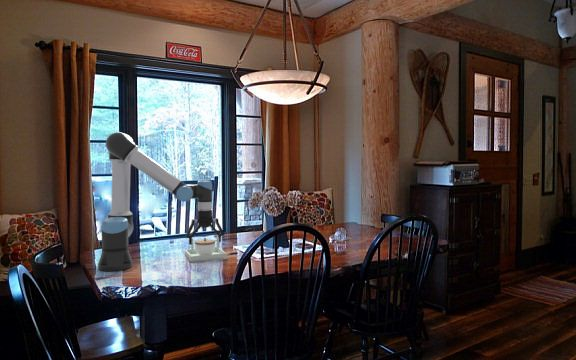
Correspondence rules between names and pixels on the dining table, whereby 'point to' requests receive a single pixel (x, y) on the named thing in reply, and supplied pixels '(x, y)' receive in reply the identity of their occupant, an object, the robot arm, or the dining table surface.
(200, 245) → the lidded jar
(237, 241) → the dining table surface
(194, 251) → the sage bin
